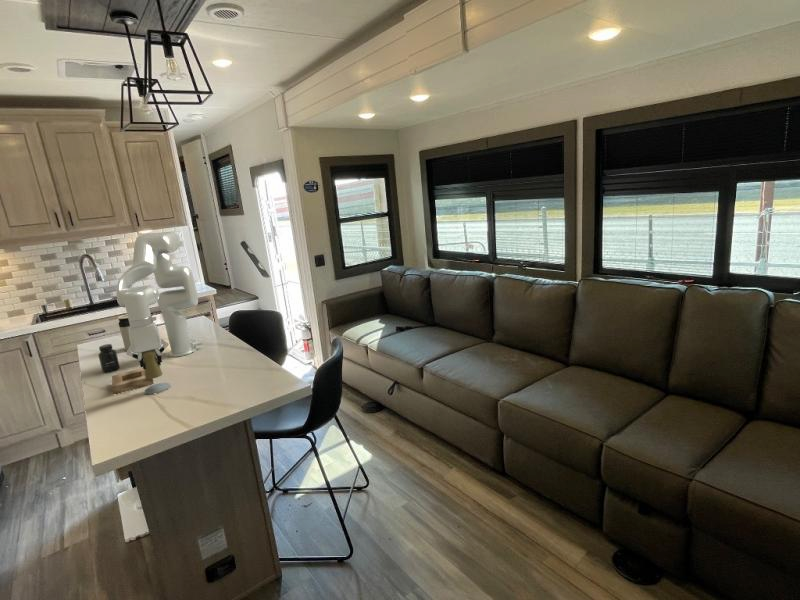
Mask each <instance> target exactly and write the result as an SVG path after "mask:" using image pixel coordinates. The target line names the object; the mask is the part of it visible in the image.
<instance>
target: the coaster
mask: <svg viewBox="0 0 800 600" xmlns="http://www.w3.org/2000/svg"><path fill="white" fill-rule="evenodd" d="M169 387H170V388H171V384H170V383H169V382H160V383H159V382H158V383H156V384H155V383H154V384H153V385H149V386H147V388H146V389H145V390H144V392H145V394H146V395H155V394H154V393H157V394H160V393H159V392H161V393H163V392H165V391H164V390H166V389H167V390H169V389H170V388H169ZM168 388H169V389H168ZM167 390H166V391H167ZM162 391H163V392H162Z"/></svg>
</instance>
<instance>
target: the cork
mask: <svg viewBox="0 0 800 600" xmlns="http://www.w3.org/2000/svg"><path fill="white" fill-rule="evenodd" d="M156 355H157V353H156V351H155V349H154V350H150V351H145V352H142V358H143V360H144V364H145V368H146V369H145V378H146V379H153V380H154V379H157V378H159V377H162V376H163V374H164V373H163V371H162V369H161V365H159V364H158V360H157V356H156Z"/></svg>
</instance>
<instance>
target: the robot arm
mask: <svg viewBox="0 0 800 600" xmlns="http://www.w3.org/2000/svg"><path fill="white" fill-rule="evenodd" d="M180 244H181V239H180V237H179V235H178V234H177V233H176V232H175V231H163V232H161V231H160V232H152V233H144V234H139V235H138V236H137V237H136V238H135V241H134V244H133V245H134V246H133V253H132V254H133V257H132V265H131V266H130V267H129V268H127V270H126V271H125V272H124V273H123V274H122V275H121V276H120V278H119V279H118V281H117V286H116V301H117V304H118V305H119V306H120V308H121V307H122V308H125V311H126V315H128V319H129V323H130V328H129V338H130V343H131V346H130V347H129V349H128V351H126V353H125V354H126V356H128V357H131V358H134V359H136V360H138V361H139V365H140V368H143V369H146V368H145V364H144V359H143V358H142V352H145V351H150V350H154V349H155V351H156V353H157V355H156V358H157V361H158V364H159V366H161V364H162V363H163V360H162V354H163V352H164V351H165V349H166V348H168V346H170V350H169V351H168V353H167V354H168V356H169V357H172V358H177V357H183V356H187V354H188V355H190V354H192V352H193V353H194V352H196V351H197V346H201V345H203V342H202V340H200V341H199V340H196V341H193V340H192V338H191V334H190V331H189V330H190V329H189V325H188V321H187V317H186V315H185V314H184V313H183V312H182V311H181V310H183V309H190V308H195V307H197V306H198V304H199V297H198V292H197V288H196V284H195V282H196V281H195V277H194V275H193V272H192V270H191V269H190V267H189V266H184V265H183V266H174V264H173V260H172V257H171V255H170V254H172V253H174V252H176V251H177V250H179V248H180V247H181V246H180ZM152 274H154V275H153V276H154V278H155V282H156V285H157V286H158V288H160V289H169V290H164V291H161V292H160V291H159V289H157V287H156V286H151V285H147V286H145V285H144V286H138V287H132V286H133V285H134V284H135V283H136V282H139V281H140V280H142V279H144V278H147V277H148V276H150V275H152ZM178 287H179V288H178ZM180 287H182V288H180ZM171 288H178V289H171ZM170 289H171V290H170ZM156 303H157V305H158V307H159V309H160V311H161V314H162V318H163V322H164V326H165V330H166V334H167V339H168V342H166V340H164V339H162V338H161V334H160V332H159V329H158V326H157V324H156V323H155V322H154V321H157V316H152V314H151V310H150V306H151V305H154V304H156ZM195 350H196V351H195Z"/></svg>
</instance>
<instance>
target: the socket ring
mask: <svg viewBox="0 0 800 600" xmlns="http://www.w3.org/2000/svg"><path fill="white" fill-rule="evenodd" d="M153 382H154V378H153V379H146V378H145V369H143V367H141V368H139V369H134V370H131V371H130V370H129V371H127V372H126V371H125V372H121V373H118V374H114V375H111V389H112V392H113V395H114V394H116V395H119V394H118V393H120V394H122V393H121V392H124V393H127V392H131V391H134V390H133V389H135V390H138V389H141V388H145V386H146V387H149V386H153V385H155V383H153ZM152 384H153V385H152ZM148 385H149V386H148ZM137 388H138V389H137ZM130 390H131V391H130ZM126 391H127V392H126Z"/></svg>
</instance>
